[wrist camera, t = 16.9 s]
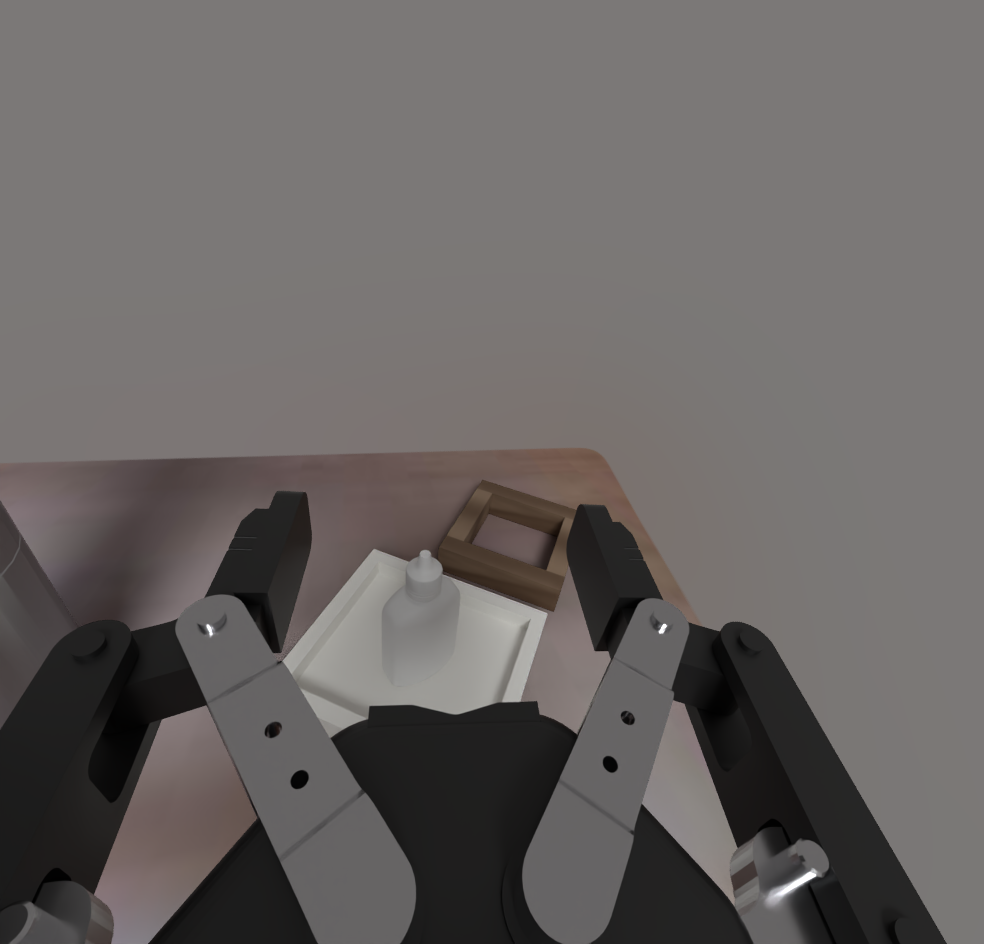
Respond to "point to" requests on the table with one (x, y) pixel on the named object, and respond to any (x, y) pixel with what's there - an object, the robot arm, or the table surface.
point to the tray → (358, 651)
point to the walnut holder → (501, 569)
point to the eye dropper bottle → (420, 623)
